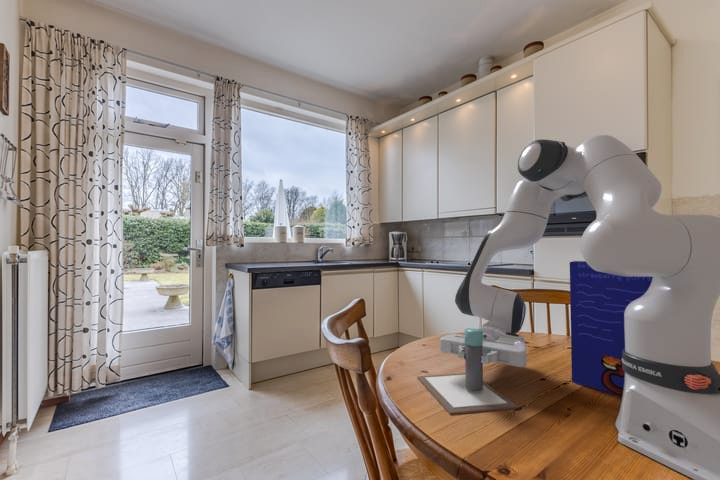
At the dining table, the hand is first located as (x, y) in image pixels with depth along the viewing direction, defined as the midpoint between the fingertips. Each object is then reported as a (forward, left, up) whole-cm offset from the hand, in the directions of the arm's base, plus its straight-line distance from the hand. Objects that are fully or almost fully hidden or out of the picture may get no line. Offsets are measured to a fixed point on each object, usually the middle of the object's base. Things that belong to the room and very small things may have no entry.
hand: (472, 357), depth 75 cm
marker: (+1, -1, -7) cm, 7 cm away
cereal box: (-6, -35, -9) cm, 37 cm away
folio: (+2, +2, -8) cm, 9 cm away
